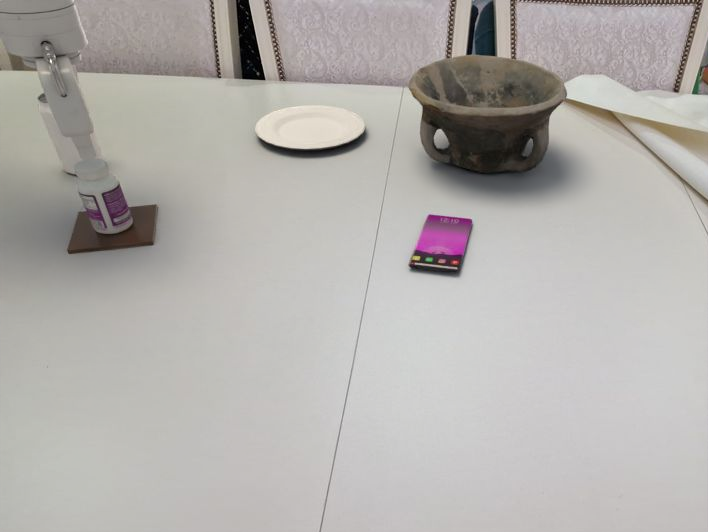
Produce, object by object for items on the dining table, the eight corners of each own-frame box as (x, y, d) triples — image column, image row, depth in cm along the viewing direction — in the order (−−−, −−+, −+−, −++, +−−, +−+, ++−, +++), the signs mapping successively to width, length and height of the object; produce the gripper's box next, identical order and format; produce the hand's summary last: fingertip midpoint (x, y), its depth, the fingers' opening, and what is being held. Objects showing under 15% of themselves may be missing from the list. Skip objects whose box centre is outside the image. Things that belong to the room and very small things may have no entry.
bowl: (407, 194, 103) (405, 104, 93) (412, 130, 123) (411, 50, 113) (564, 198, 105) (579, 110, 95) (544, 135, 125) (555, 56, 115)
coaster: (68, 254, 86) (66, 250, 85) (79, 215, 93) (78, 211, 93) (153, 244, 88) (152, 241, 88) (157, 207, 96) (156, 204, 96)
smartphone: (407, 269, 87) (407, 264, 86) (427, 217, 98) (427, 212, 97) (458, 276, 86) (458, 270, 85) (472, 222, 97) (472, 217, 97)
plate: (347, 163, 111) (347, 153, 109) (237, 150, 112) (235, 140, 111) (378, 120, 126) (377, 110, 125) (280, 109, 128) (279, 100, 127)
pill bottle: (131, 214, 93) (110, 153, 87) (135, 230, 90) (114, 168, 83) (92, 221, 91) (67, 159, 85) (94, 238, 88) (69, 175, 81)
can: (65, 161, 106) (36, 90, 98) (107, 157, 108) (82, 87, 100) (62, 178, 102) (31, 105, 94) (105, 173, 103) (79, 101, 95)
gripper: (81, 53, 68) (121, 170, 77) (64, 8, 81) (101, 113, 90) (15, 60, 65) (65, 180, 75) (8, 12, 78) (52, 119, 87)
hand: (84, 143), depth 82 cm, fingers open, 8 cm apart
